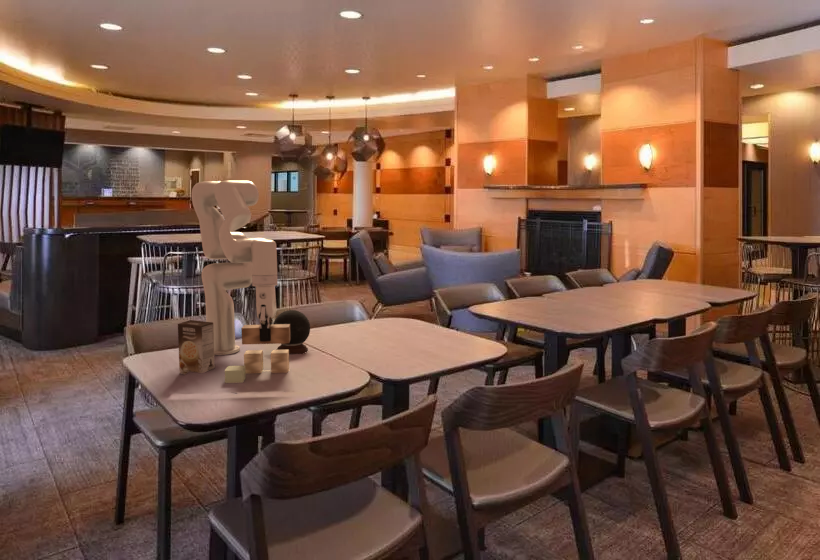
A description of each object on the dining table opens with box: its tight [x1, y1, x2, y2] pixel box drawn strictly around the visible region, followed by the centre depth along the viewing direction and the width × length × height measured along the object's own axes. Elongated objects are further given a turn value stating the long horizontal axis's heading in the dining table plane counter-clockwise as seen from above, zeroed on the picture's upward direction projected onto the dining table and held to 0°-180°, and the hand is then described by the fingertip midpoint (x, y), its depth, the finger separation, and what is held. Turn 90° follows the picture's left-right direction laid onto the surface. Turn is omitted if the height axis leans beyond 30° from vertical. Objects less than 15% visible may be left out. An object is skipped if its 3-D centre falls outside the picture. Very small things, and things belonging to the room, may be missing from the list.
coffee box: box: [177, 319, 216, 375], centre depth 189 cm, size 9×6×16 cm
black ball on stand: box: [273, 309, 311, 355], centre depth 216 cm, size 13×13×15 cm
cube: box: [224, 365, 247, 384], centre depth 178 cm, size 5×5×5 cm
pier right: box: [270, 349, 290, 374], centre depth 188 cm, size 5×5×6 cm
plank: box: [241, 323, 290, 345], centre depth 186 cm, size 14×5×5 cm, turn 96°
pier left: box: [243, 349, 264, 374], centre depth 187 cm, size 5×5×6 cm
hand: (266, 338), depth 187 cm, fingers closed on plank, 5 cm apart
